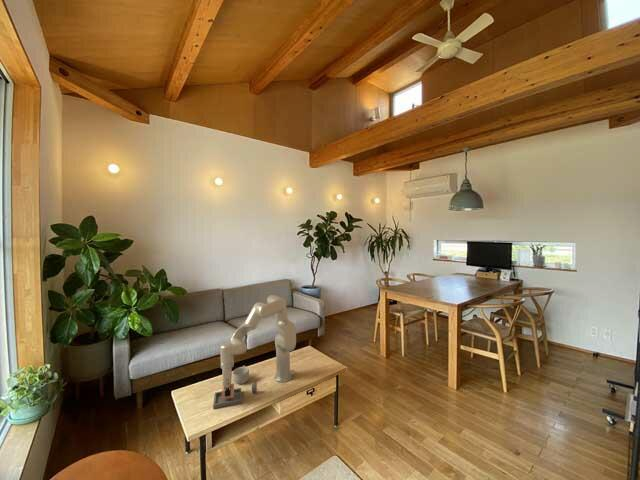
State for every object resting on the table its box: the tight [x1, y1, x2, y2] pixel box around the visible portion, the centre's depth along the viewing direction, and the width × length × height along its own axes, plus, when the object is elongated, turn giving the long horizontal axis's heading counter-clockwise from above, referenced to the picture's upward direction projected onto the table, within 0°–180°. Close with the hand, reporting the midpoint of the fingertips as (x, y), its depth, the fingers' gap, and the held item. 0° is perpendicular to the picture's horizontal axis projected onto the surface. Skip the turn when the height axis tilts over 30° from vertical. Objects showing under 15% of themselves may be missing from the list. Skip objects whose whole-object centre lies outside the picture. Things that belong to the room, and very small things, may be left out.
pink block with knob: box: [221, 383, 235, 400], centre depth 165 cm, size 7×7×5 cm
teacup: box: [232, 365, 250, 385], centre depth 187 cm, size 14×11×8 cm
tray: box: [212, 387, 243, 410], centre depth 165 cm, size 16×13×2 cm
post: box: [251, 381, 258, 395], centre depth 172 cm, size 3×3×6 cm
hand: (227, 392), depth 165 cm, fingers closed on pink block with knob, 7 cm apart
